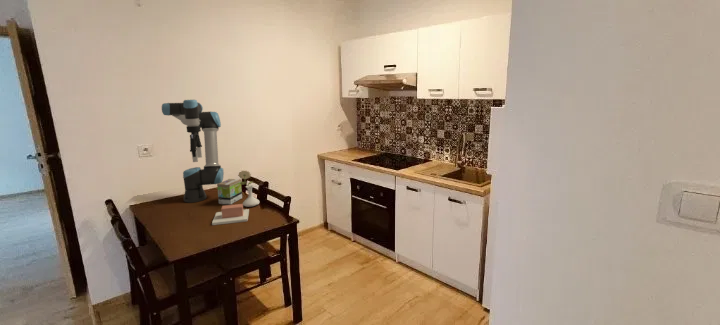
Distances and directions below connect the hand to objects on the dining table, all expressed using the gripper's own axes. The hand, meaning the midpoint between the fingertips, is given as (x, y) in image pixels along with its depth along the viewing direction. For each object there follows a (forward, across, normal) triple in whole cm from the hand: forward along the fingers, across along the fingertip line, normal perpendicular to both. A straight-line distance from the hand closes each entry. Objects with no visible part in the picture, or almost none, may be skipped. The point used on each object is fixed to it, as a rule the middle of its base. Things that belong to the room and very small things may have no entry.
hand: (197, 159), depth 206 cm
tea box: (+37, +24, -14) cm, 46 cm away
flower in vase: (+37, +10, -28) cm, 47 cm away
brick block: (+32, -12, -24) cm, 42 cm away
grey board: (+36, -11, -17) cm, 42 cm away
